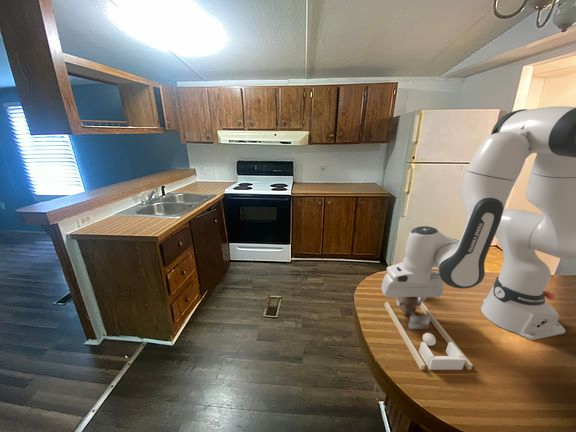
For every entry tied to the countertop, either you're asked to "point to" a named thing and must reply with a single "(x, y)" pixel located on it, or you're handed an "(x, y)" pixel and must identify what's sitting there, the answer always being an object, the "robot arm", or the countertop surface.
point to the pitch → (409, 343)
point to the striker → (414, 320)
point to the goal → (443, 358)
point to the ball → (429, 339)
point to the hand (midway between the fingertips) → (408, 304)
